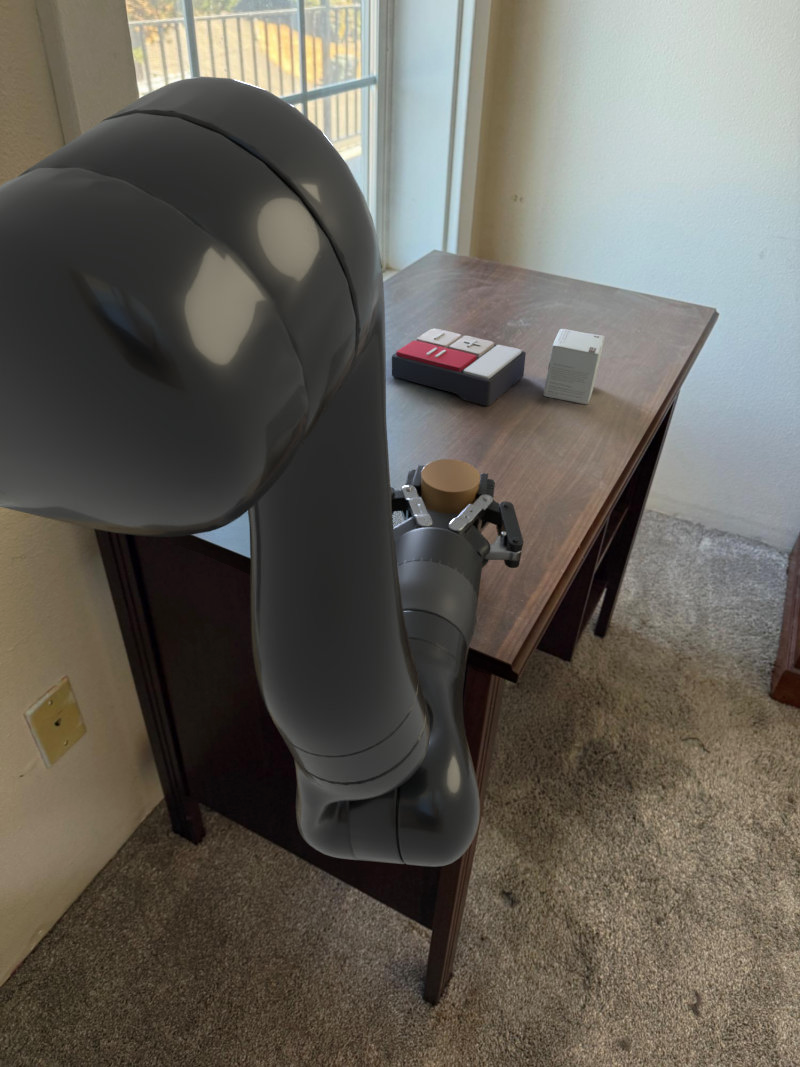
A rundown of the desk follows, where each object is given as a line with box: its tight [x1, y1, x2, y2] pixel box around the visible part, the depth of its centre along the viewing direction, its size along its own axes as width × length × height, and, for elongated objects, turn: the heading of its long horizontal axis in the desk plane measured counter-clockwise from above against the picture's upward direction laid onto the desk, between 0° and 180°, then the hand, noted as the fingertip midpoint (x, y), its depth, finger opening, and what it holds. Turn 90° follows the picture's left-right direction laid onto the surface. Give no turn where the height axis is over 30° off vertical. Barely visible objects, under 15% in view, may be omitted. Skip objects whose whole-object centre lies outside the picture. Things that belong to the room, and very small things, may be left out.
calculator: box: [391, 327, 527, 407], centre depth 101 cm, size 11×4×15 cm
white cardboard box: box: [543, 328, 605, 405], centre depth 98 cm, size 6×6×7 cm
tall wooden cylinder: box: [420, 458, 481, 514], centre depth 69 cm, size 5×5×10 cm
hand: (451, 477), depth 69 cm, fingers closed on tall wooden cylinder, 5 cm apart
